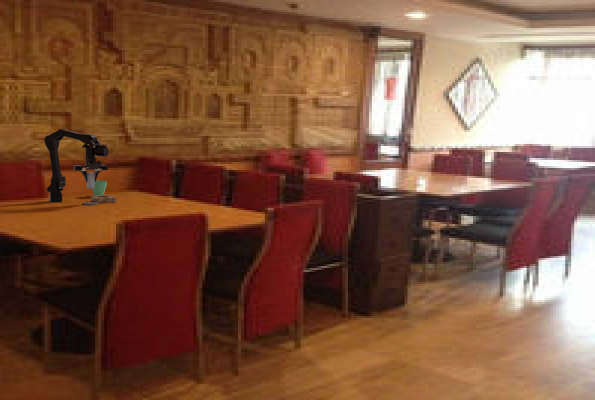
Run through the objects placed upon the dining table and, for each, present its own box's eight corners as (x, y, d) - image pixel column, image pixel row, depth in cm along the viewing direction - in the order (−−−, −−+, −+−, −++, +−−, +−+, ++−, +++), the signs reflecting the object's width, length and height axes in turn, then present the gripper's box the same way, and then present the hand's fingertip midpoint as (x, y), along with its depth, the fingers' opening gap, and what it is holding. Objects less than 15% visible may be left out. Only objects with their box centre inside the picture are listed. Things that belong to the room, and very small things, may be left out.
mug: (106, 197, 400) (106, 182, 399) (89, 197, 398) (89, 182, 397) (108, 194, 414) (107, 179, 413) (92, 194, 412) (92, 179, 411)
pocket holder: (95, 203, 375) (95, 198, 375) (90, 200, 385) (90, 195, 385) (116, 202, 381) (116, 197, 381) (110, 199, 391) (110, 195, 391)
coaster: (84, 205, 365) (84, 204, 365) (80, 203, 373) (80, 202, 373) (99, 204, 370) (99, 203, 370) (95, 202, 377) (95, 201, 377)
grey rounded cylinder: (88, 188, 368) (87, 173, 367) (85, 187, 371) (85, 172, 370) (95, 188, 370) (95, 173, 369) (93, 187, 374) (93, 172, 373)
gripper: (77, 156, 357) (78, 184, 359) (110, 156, 367) (110, 183, 369) (72, 155, 366) (73, 182, 368) (104, 155, 376) (105, 181, 378)
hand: (90, 182), depth 370 cm, fingers closed on grey rounded cylinder, 4 cm apart
